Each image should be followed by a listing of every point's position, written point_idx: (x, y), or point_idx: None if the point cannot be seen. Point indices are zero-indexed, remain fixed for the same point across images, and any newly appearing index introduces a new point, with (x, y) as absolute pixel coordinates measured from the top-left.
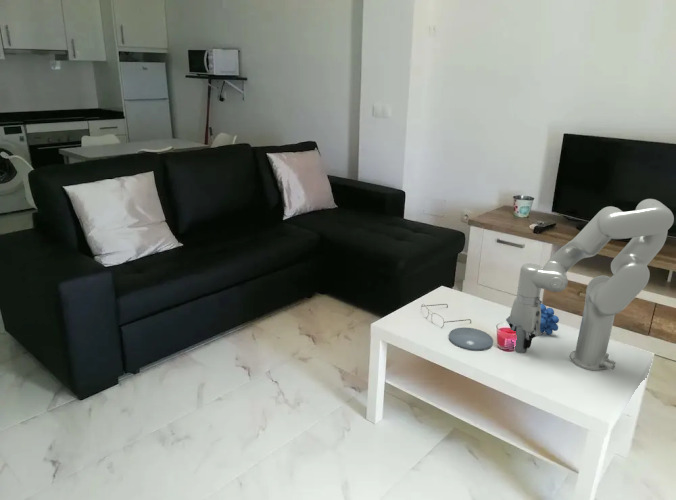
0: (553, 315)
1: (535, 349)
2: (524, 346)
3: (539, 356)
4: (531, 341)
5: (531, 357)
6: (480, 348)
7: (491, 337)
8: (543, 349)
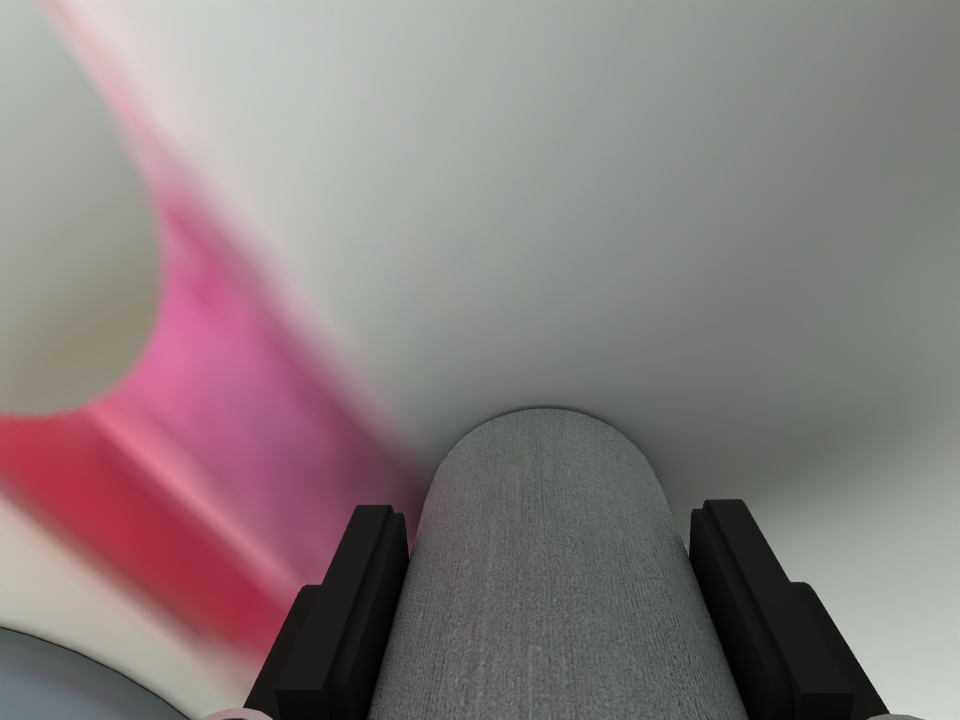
0: None
1: (692, 210)
2: None
3: (915, 378)
4: (865, 677)
5: (837, 535)
6: None
7: (39, 701)
8: (800, 29)
